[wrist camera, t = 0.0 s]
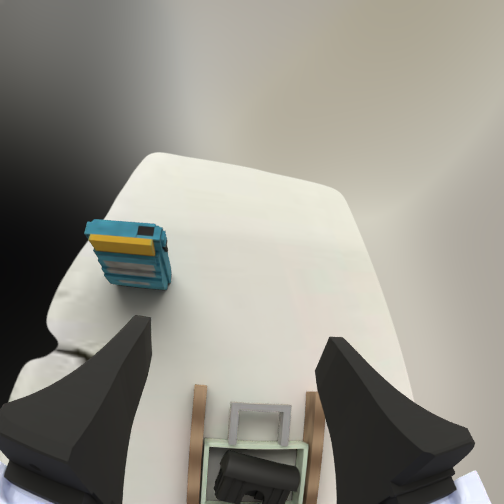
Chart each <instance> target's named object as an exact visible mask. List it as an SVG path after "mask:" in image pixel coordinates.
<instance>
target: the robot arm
mask: <svg viewBox="0 0 504 504" xmlns="http://www.w3.org/2000/svg"><path fill="white" fill-rule="evenodd" d="M151 357H152V346H151V318H150V317H144V316H138V315H135V316H134V317H133V318H132V319H131V320H130V321H129V322H128V323H127V324H126V325H125V326H124V327H123V328H122V329H121V330H120V332H119V333H118V334H117V335H116V336H115V337H113V338H112V339H111V340H110V341H109V342H108V343H107V344H106V345H105V346H104V347H103V348H102V349H101V350H100V351H98V352H97V353H96V354H95V355H94V356H93V357H91V358H90V359H89V360H88V361H87V362H85V363H84V364H83V365H81V366H80V367H79V368H77V369H76V370H74V371H73V372H72V373H70V374H69V375H67V376H65V377H64V378H62V379H61V380H59V381H57V382H55V383H54V384H52V385H50V386H48V387H46V388H44V389H42V390H40V391H38V392H36V393H33V394H31V395H28V396H26V397H23V398H20V399H17V400H14V401H12V402H9V403H6V404H3V406H2V408H1V410H0V450H1V451H2V452H3V454H4V455H5V456H6V457H7V458H8V459H9V463H8V466H6V465H5V464H3V463H2V462H1V461H0V504H122V499H123V485H124V475H125V466H126V458H127V451H128V445H129V439H130V433H131V428H132V424H133V420H134V417H135V414H136V411H137V407H138V404H139V401H140V398H141V395H142V392H143V389H144V386H145V383H146V380H147V377H148V372H149V367H150V362H151ZM315 375H316V383H317V389H318V394H319V398H320V401H321V405H322V408H323V412H324V415H325V419H326V422H327V426H328V429H329V433H330V437H331V442H332V448H333V455H334V463H335V473H336V490H337V504H491V502H490V500H489V498H488V495H487V493H486V491H485V488H484V486H483V484H482V482H481V480H480V477H479V475H478V473H477V471H476V470H474V471H472V472H470V473H468V474H466V475H464V476H462V477H460V478H458V479H456V480H455V481H453V480H452V477H451V476H453V475H454V474H455V471H454V469H453V467H454V466H455V465H456V464H457V463H459V462H460V461H461V460H462V459H463V458H464V457H465V456H467V455H468V454H469V452H470V451H471V450H472V449H473V447H474V445H475V442H474V440H473V438H472V436H471V435H470V432H469V431H468V429H467V428H465V427H462V426H459V425H457V424H454V423H452V422H449V421H447V420H445V419H443V418H441V417H438V416H436V415H435V414H432V413H431V412H429V411H427V410H426V409H424V408H422V407H421V406H419V405H417V404H416V403H414V402H413V401H411V400H410V399H409V398H407V397H406V396H405V395H403V394H402V393H401V392H399V391H398V390H397V389H395V388H394V387H393V386H392V385H391V384H390V383H388V382H387V381H386V380H385V379H384V378H383V377H382V376H381V375H380V374H379V373H378V372H377V371H375V370H374V369H373V368H372V367H371V366H370V365H369V364H368V363H367V361H366V360H365V359H364V358H363V357H362V356H361V355H360V354H359V353H358V352H357V351H356V350H355V349H354V348H353V347H352V346H351V345H350V344H349V343H348V342H347V341H346V340H345V339H344V338H343V337H329V339H328V342H327V344H326V346H325V349H324V351H323V353H322V356H321V358H320V360H319V363H318V365H317V367H316V370H315Z"/></svg>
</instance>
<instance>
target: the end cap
mask: <svg viewBox="0 0 504 504" xmlns="http://www.w3.org/2000/svg"><path fill="white" fill-rule="evenodd" d="M220 465H221V469H220V472H219V474H218V476H217V479H216V481H215V487H214V490H215V496H216V498H217V499H218V500H221V501H224V502H228V503H232V504H240V502H241V500H242V498H243V496H244V495H250V496H254V499H258V500H263V503H262V504H285V502H286V500H287V498H288V496H289V493H290V491H294V492H297V489H298V486H299V482H300V472H299V469H298V468H297V467H295V466H291V465H286V464H282V463H277V462H273V461H269V460H264V459H261V458H257V457H253V456H249V455H246V454H242V453H239V452H235V451H232V450H228V451H227V452H226V453H225V455H224V456H223V458H222V460H221V463H220Z"/></svg>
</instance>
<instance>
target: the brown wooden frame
mask: <svg viewBox="0 0 504 504" xmlns="http://www.w3.org/2000/svg"><path fill="white" fill-rule="evenodd" d="M206 394H207V386H205V385H197V384H195V389H194V400H193V411H192V424H191V437H190V451H189V467H188V486H187V504H199V490H200V474H201V458H202V444H203V431H204V418H205V406H206ZM324 427H325V415H324V412H323V408H322V405H321V401H320V398H319V394H318V392H306V408H305V422H304V435H303V442H305V443H307V444H309V446H308V457H307V467H306V477H305V485H304V494H303V502H302V504H316V503H317V496H318V488H319V480H320V471H321V461H322V451H323V440H324Z"/></svg>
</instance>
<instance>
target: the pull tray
mask: <svg viewBox="0 0 504 504" xmlns="http://www.w3.org/2000/svg"><path fill="white" fill-rule="evenodd" d="M239 410H243V411H262V412H280V417H279V430H278V441H239V440H237V431H238V419H239ZM290 418H291V405H288V404H262V403H244V402H230V415H229V428H228V440H223V439H211V438H204V451H203V465H202V481H201V499H200V504H232V503H228V502H224V501H208V500H206V485H207V469H208V455H209V446H210V447H223V448H239V449H297V457H296V467H297V468H298V469H299V472H300V482H299V486H298V489H297V492H294V491H293V496H292V501H286V502H285V504H302V502H303V494H304V485H305V477H306V467H307V457H308V446H309V444H307V443H305V442H303V441H289V431H290ZM262 503H263V502H240V504H262Z"/></svg>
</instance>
